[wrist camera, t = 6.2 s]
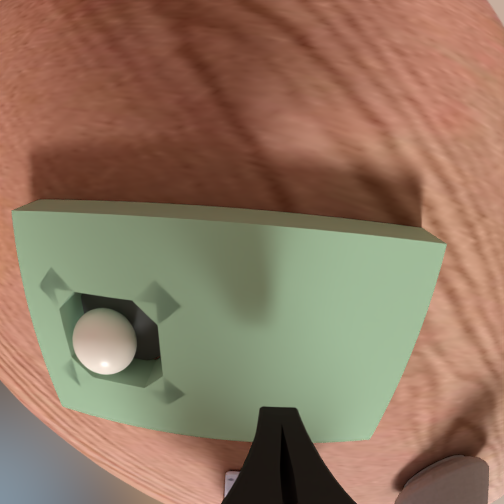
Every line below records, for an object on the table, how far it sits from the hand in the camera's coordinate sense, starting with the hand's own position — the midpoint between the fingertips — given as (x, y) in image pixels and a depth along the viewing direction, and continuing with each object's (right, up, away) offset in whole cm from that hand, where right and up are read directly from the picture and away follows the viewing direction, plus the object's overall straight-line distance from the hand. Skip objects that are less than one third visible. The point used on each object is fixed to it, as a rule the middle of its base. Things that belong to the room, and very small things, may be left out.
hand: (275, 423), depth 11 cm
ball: (-9, +2, +4) cm, 10 cm away
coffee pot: (+22, -22, +14) cm, 34 cm away
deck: (-3, +2, +6) cm, 7 cm away
